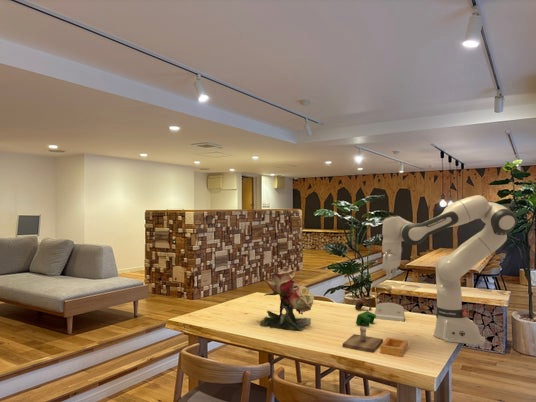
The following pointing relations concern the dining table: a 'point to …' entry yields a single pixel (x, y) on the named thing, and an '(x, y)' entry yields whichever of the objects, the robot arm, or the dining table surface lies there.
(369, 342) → the keeper board
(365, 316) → the green lumpy block
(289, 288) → the rose bouquet
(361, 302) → the pottery mug
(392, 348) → the small wooden tray
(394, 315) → the hinge
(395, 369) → the dining table surface
